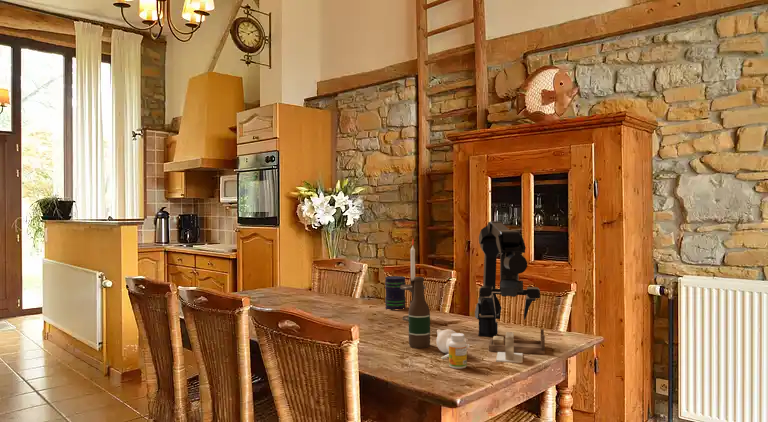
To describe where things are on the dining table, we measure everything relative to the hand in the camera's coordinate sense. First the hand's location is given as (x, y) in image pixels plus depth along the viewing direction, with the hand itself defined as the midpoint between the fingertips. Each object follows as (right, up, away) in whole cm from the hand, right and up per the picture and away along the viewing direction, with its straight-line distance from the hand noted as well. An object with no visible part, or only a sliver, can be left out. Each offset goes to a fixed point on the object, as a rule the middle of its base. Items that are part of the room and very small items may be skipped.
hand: (509, 318), depth 176 cm
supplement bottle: (-18, -13, -9) cm, 24 cm away
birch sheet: (0, -12, 0) cm, 12 cm away
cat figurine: (-19, -13, +4) cm, 23 cm away
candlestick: (-28, -13, +62) cm, 69 cm away
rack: (+5, -12, +11) cm, 17 cm away
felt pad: (0, -12, 0) cm, 12 cm away
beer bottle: (-28, -13, +16) cm, 35 cm away
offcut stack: (-1, -11, +13) cm, 17 cm away
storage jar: (-35, -12, +88) cm, 95 cm away
